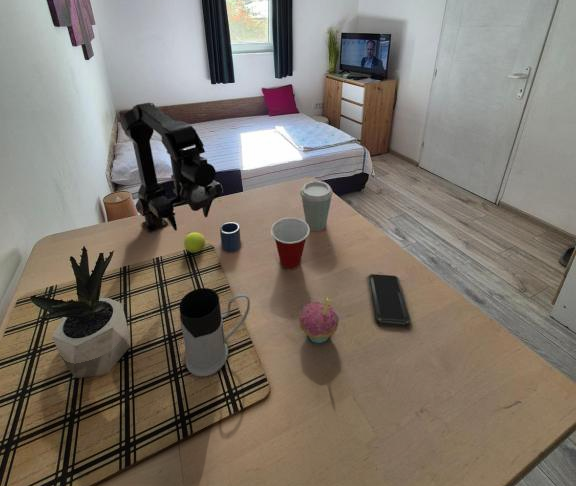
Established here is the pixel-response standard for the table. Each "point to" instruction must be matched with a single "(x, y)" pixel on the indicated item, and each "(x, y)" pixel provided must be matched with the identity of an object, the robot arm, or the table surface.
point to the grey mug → (205, 330)
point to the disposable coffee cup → (316, 203)
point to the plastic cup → (290, 240)
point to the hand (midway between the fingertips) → (191, 223)
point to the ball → (194, 242)
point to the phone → (388, 300)
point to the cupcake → (318, 321)
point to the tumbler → (230, 237)
